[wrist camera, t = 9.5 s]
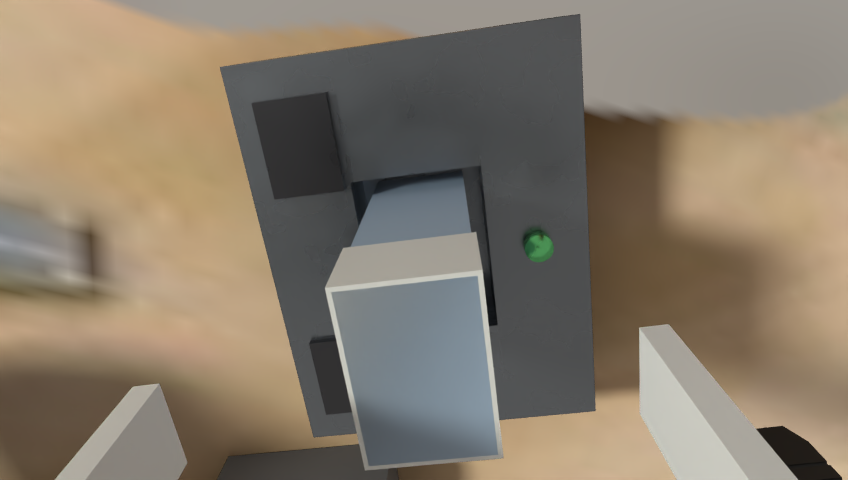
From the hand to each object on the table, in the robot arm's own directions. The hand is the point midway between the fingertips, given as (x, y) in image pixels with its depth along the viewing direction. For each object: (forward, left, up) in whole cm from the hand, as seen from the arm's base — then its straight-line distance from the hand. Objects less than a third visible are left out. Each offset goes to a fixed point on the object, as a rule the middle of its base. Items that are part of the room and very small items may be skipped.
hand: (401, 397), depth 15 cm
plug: (0, 0, -13) cm, 13 cm away
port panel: (0, 0, -14) cm, 14 cm away
